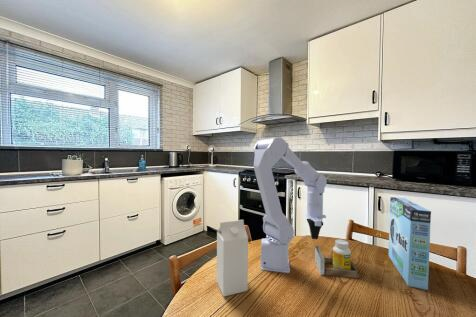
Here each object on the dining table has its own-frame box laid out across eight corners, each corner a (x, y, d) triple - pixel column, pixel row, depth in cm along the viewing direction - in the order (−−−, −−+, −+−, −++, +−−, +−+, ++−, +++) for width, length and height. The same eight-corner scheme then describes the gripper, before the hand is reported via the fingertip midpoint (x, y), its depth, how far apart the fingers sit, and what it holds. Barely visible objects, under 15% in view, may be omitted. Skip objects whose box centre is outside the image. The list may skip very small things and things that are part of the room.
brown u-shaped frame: (325, 274, 64) (325, 268, 64) (320, 261, 72) (320, 256, 72) (359, 279, 62) (359, 272, 62) (350, 265, 70) (350, 259, 70)
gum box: (388, 256, 76) (389, 196, 76) (404, 259, 74) (406, 198, 74) (407, 286, 59) (409, 208, 58) (430, 291, 57) (432, 210, 56)
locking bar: (320, 274, 64) (320, 259, 64) (314, 259, 73) (315, 246, 73) (324, 275, 63) (324, 259, 63) (318, 260, 73) (318, 246, 73)
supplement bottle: (338, 264, 71) (338, 237, 70) (353, 271, 66) (354, 242, 66) (329, 268, 68) (329, 240, 67) (345, 276, 63) (345, 246, 63)
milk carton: (216, 281, 60) (217, 218, 60) (238, 276, 63) (239, 216, 62) (223, 297, 53) (223, 226, 53) (247, 291, 56) (248, 223, 56)
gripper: (330, 209, 70) (330, 247, 70) (321, 200, 84) (321, 232, 84) (309, 208, 71) (309, 245, 72) (304, 199, 86) (304, 230, 86)
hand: (314, 238), depth 78 cm, fingers closed
